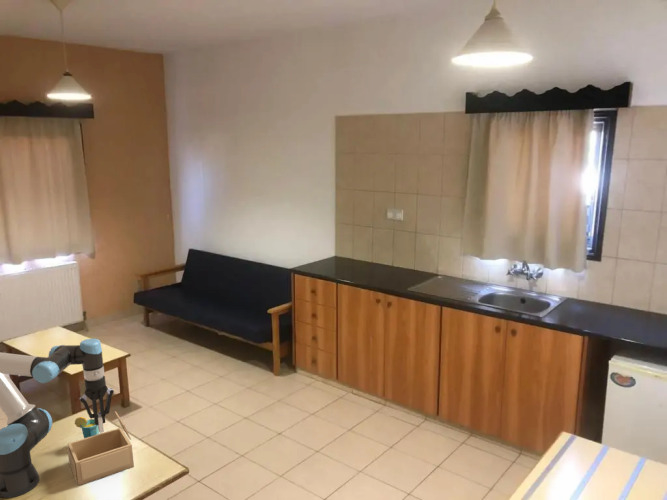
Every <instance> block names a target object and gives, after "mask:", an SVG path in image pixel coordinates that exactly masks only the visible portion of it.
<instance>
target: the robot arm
mask: <svg viewBox="0 0 667 500" xmlns="http://www.w3.org/2000/svg"><path fill="white" fill-rule="evenodd" d="M103 359H104V358H103V347H102V343H101V340H99V339H98V338H87V339H84V340H81V342H79V345H78V344H77V345H70V344H69V345H67V344H66V345H65V344H62V345H54V346H52V347H51V348H50V350H49V351H48V356H47V357H46V356H45V357H44V356H36V355H35V356H34V355H25V354H17V353H16V354H15V353H9V352H8V353H7V352H1V351H0V409H1V411H2V412H3V413H4V414H5V416H6V417H7V421H6V427H5V426H4V427H2V428H1V429H0V499H10V498H12V499H13V498H15V497H19V496H22V495H25V494H27V493H28V492H30V491H32V490H33V489H35V488H36V486H38V484H39V483H40V476H39V472H38V471H37V468H36V467H35V466H34V464H33V462H32V455H31V451H32V450H33V449H34V448H35V447H36V446H37V445H38V444H39V443H40V442H41V441H42V440H43V439H44V438H45V437H47V435H48V433H49V432H51V430H52V426H53V419H52V416H51V414H50V413H49V411H47V410H46V409H43V408H40V407H37V406H36V404H30V403H29V402H28V400H27V399H26V398H25V397H24V395H23V394H22V393H21V391H20V390H19V388H18V387H17V386H16V384H15V383H14V381H12V378H11V377H10V376H9V375H13V376H23V377H30V378H31V377H33V380H34V381H37V382H38V383H40V384H47V383H49V382H50V381H52V380H54V379H56V378H57V377H58V375H59V374H61V373H62V372H63V371H64V370H66V369H67V368H68V367H69V366H71V365H72V366H73V365H81V367H82V370H83V378H84V387H85V390H84V393H83V395H82V396H81V395H80V396H79V401H80V402H81V403H82V404H83V406H84V408H85V410H86V413H87V414H88V417H89V418H90V419H94V421H95V425H96V426H97V425H98V430H99V434H101V433H104V432H105V431H104V430H105V429H104V424H105V423H106V415H108V414H109V413H110V410H111V404H112V403H111V402H112V397H113V394H114V392H115V390H114V389H113V388H112V387H111V388H109V387H108V386H107V383H106V382H107V381H106V376H105V367H104V360H103ZM105 395H106V400H105V404H104V396H105ZM88 399H89V400H90V401H91V404H92V405H91V406H92V410H91V409H90V406H89V403H88V402H87V400H88ZM97 400H98V403H97ZM98 405H99V413H100V415H98V414H99V413H98ZM104 405H105V406H104ZM92 412H93V413H92Z"/></svg>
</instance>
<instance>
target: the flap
mask: <svg viewBox="0 0 667 500" xmlns="http://www.w3.org/2000/svg"><path fill="white" fill-rule="evenodd" d="M114 414H115V415H116V417H117V419H118V422H119V424H120V427H121V428H122V430H123V431H124V433H125V435H126V436H127V438H128V440H129V441H131V440H132V439H131V437H130V434H129V432H128V429H127V428H126V425H125V424H124V422H123V420H122V418H121V417H120V415H119V414H118V412H117V411H114Z"/></svg>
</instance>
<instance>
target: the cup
mask: <svg viewBox="0 0 667 500" xmlns="http://www.w3.org/2000/svg"><path fill="white" fill-rule="evenodd" d="M98 415H101V414H100V412H99V413H98ZM74 424H75V427H76V428H80V429H81V431H82V435H83V439H84V438H88V437H91V436H94V435H97V434H100V432H99V430H98V425H97V426H96V425H95V421H94V418H92V419H91V418H90V419H86V418H85V417H82V416H79V417H77V418H75V420H74Z"/></svg>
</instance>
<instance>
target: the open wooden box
mask: <svg viewBox="0 0 667 500" xmlns="http://www.w3.org/2000/svg"><path fill="white" fill-rule="evenodd" d="M66 448H67V456H68V457H67V458H68V463H69V467H70V468H71V471H72V474H73V477H74V479H75V481H76V483H77V485H78V487H80V486H83V485H86V484H89V483H92V482H94V481H97V480H101V479H103V478H106V477H109V476H113V475H116V474H118V473H120V472H123V471H126V470H129V469H132V468H134V467H135V465H134V455H133V445H132V443H131V440H130V439H129V438H128V436H127V434H126V433H125V431H124V429H123V428H122V427H118V428H115V429H114V428H113V429H111V430H107V431H104V432H102V433H99V434H97V435H94V436H91V437H88V438H84V437H83V438H81V439H77V440H76V441H72V442H71V441H70V442H68V443H67V446H66Z"/></svg>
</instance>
